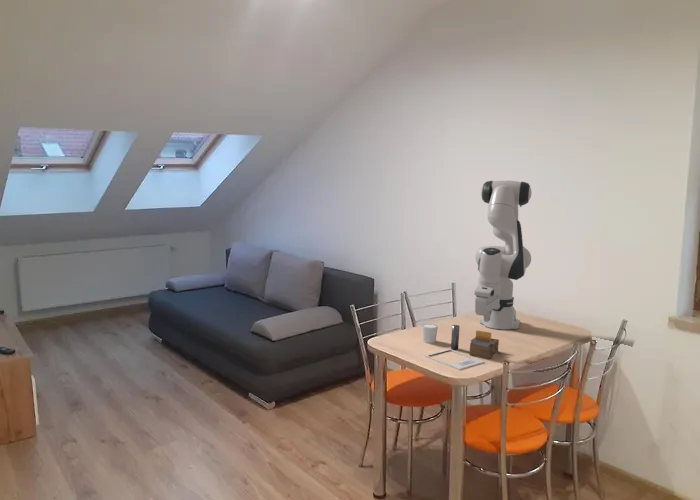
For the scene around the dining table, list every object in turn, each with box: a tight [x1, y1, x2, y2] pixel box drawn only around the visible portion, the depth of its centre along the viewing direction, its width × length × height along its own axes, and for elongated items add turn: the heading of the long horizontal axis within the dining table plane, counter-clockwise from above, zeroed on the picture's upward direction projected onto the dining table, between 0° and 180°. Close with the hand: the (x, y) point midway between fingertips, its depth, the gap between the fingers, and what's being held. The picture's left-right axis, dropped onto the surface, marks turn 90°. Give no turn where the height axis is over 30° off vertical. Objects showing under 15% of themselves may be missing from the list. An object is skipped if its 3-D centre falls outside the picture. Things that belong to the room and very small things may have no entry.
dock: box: [469, 337, 500, 360], centre depth 227 cm, size 12×8×5 cm, turn 148°
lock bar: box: [470, 330, 492, 347], centre depth 223 cm, size 5×7×4 cm
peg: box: [450, 324, 460, 351], centre depth 231 cm, size 3×3×10 cm
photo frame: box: [424, 348, 485, 371], centre depth 219 cm, size 15×1×18 cm
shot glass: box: [421, 323, 438, 344], centre depth 241 cm, size 7×7×7 cm
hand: (486, 320), depth 227 cm, fingers closed
